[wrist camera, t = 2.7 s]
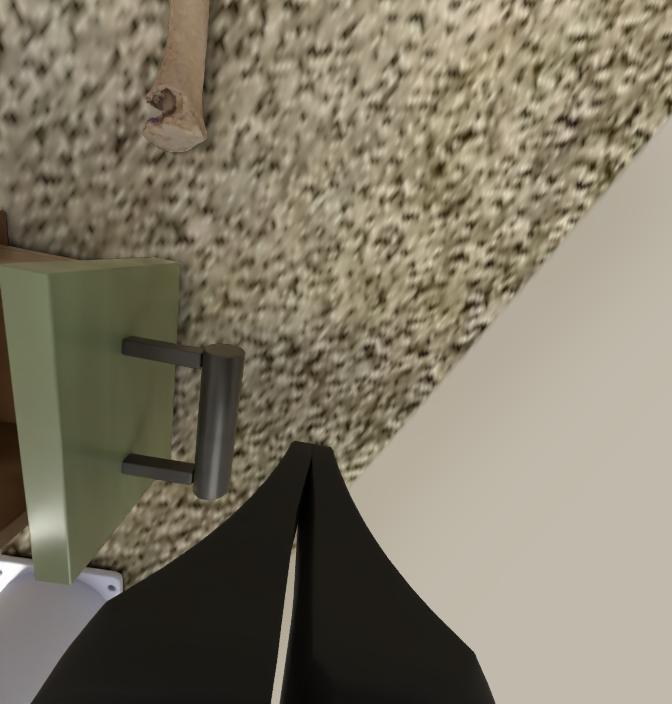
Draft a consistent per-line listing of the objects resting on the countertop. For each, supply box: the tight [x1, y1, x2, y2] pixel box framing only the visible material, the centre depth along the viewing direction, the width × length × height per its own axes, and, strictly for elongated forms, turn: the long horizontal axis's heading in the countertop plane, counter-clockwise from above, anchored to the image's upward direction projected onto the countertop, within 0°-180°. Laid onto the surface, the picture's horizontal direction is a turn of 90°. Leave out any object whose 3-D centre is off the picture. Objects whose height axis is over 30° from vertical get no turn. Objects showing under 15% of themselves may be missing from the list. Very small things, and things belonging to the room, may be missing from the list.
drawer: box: [0, 244, 245, 585], centre depth 12 cm, size 17×10×7 cm, turn 79°
